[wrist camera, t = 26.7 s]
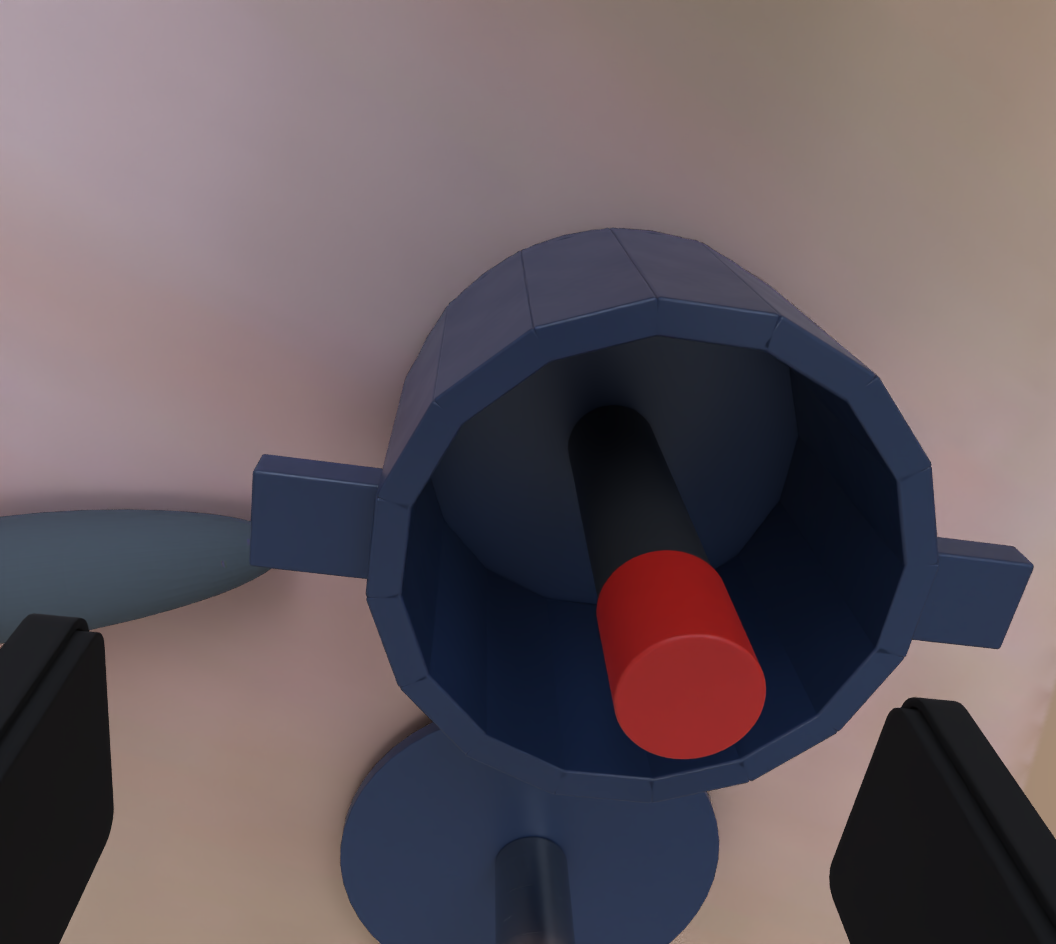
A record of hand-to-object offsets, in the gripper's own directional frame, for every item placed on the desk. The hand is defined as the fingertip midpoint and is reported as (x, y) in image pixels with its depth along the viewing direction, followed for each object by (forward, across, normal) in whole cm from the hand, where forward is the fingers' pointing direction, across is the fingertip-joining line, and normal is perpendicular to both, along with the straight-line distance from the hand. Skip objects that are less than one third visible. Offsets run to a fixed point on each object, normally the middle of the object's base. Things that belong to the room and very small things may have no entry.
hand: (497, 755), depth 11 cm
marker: (+17, -4, +3) cm, 18 cm away
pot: (+18, -4, +3) cm, 18 cm away
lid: (+17, -4, +19) cm, 26 cm away
